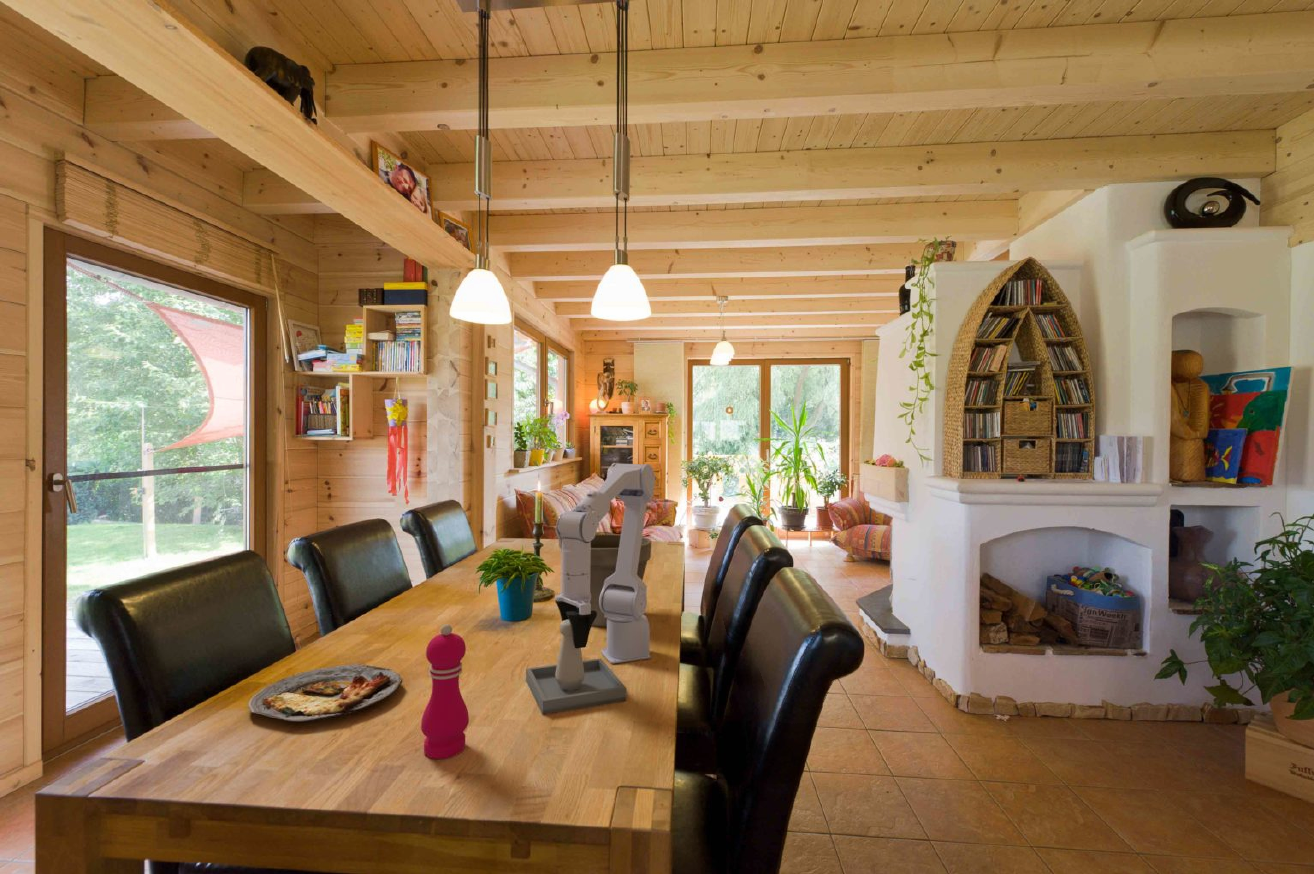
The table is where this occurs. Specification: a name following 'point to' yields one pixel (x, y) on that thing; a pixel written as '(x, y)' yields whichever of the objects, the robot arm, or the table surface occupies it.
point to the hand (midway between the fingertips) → (575, 640)
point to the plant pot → (609, 567)
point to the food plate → (325, 693)
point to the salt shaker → (569, 661)
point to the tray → (592, 692)
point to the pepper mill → (445, 697)
